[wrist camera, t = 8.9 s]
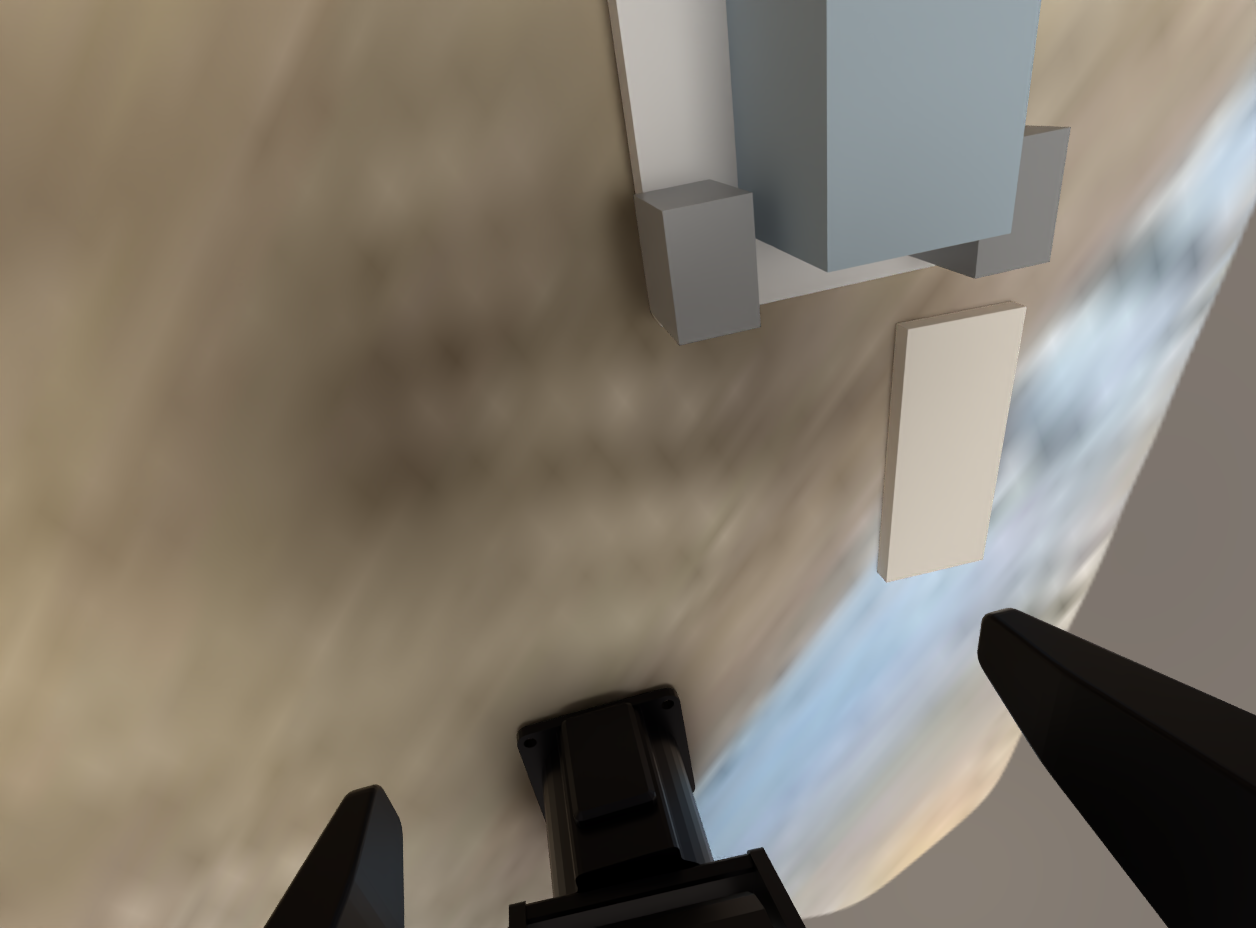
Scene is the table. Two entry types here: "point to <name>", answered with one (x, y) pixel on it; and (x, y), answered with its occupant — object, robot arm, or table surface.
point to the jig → (723, 214)
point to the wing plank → (946, 436)
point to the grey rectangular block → (879, 122)
